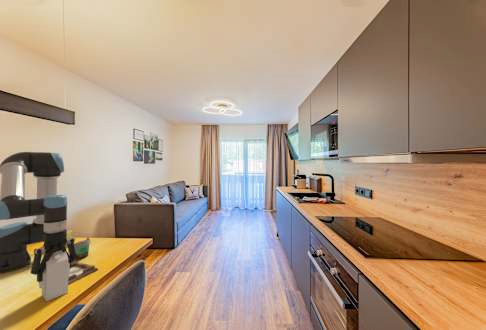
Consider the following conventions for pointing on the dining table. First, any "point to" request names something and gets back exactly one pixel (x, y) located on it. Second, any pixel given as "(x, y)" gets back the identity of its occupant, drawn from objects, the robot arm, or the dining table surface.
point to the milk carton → (56, 276)
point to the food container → (82, 249)
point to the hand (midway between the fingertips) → (55, 282)
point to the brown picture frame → (80, 271)
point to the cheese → (70, 236)
